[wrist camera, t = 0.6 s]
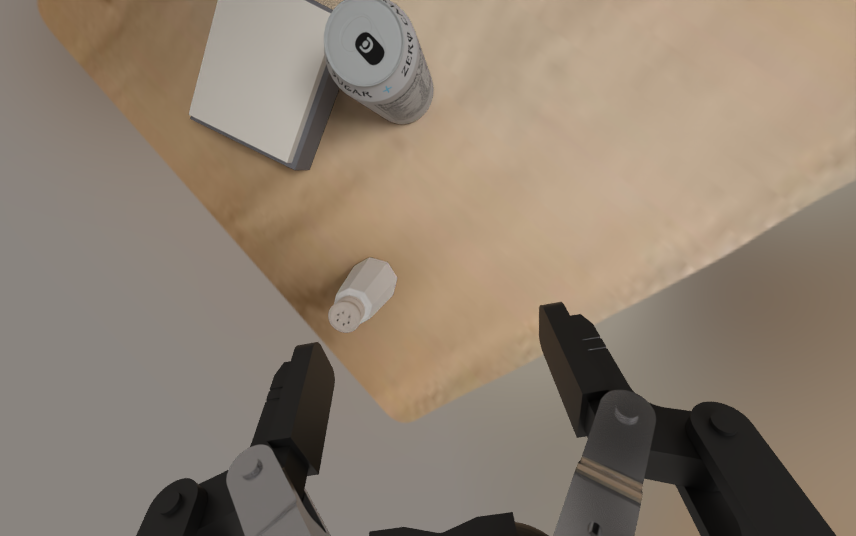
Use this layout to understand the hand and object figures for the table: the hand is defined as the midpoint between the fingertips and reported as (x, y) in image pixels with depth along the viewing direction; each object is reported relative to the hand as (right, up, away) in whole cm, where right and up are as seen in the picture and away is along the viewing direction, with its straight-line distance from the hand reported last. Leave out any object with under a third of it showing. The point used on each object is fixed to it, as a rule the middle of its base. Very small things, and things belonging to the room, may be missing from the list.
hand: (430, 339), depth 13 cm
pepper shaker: (-6, +1, +28) cm, 29 cm away
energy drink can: (-2, +20, +23) cm, 30 cm away
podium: (-14, +21, +23) cm, 35 cm away
